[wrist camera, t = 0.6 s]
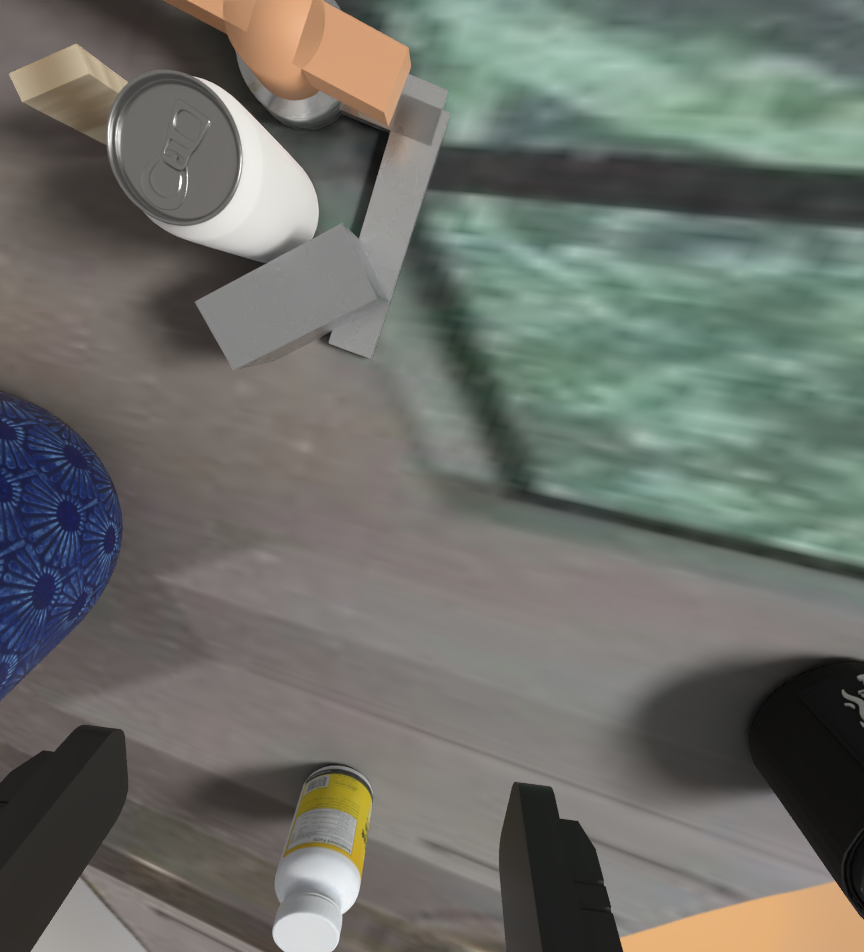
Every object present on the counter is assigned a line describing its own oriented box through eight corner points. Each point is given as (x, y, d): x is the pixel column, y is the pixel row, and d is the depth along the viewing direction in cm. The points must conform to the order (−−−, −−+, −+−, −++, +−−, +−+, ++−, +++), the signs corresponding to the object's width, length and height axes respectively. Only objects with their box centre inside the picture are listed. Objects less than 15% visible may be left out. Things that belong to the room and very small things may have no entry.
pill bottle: (341, 826, 48) (309, 981, 37) (288, 787, 46) (239, 934, 35) (389, 790, 46) (371, 939, 35) (336, 748, 45) (300, 889, 34)
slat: (167, 111, 31) (76, 43, 23) (176, 133, 31) (89, 73, 24) (115, 133, 31) (8, 73, 24) (124, 154, 32) (22, 102, 24)
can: (202, 227, 33) (71, 178, 21) (246, 128, 31) (130, 17, 20) (291, 284, 34) (212, 267, 22) (339, 191, 32) (279, 120, 20)
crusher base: (210, -44, 29) (138, -154, 22) (467, 65, 30) (473, -8, 23) (145, 313, 34) (72, 312, 28) (361, 392, 36) (342, 409, 29)
